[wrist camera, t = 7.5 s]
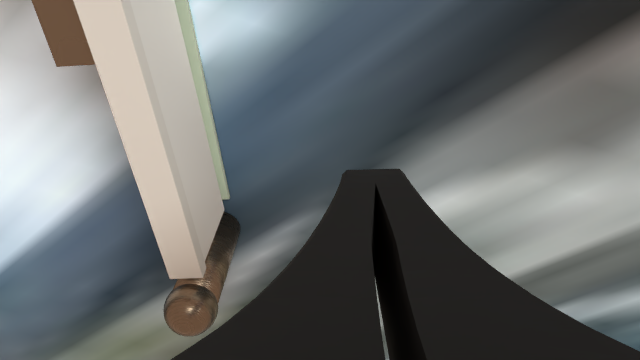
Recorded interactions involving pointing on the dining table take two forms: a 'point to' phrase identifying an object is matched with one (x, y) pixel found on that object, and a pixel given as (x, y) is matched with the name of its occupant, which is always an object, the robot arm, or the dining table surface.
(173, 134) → the beige flat panel
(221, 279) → the hinge post
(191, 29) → the sill strip
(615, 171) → the dining table surface
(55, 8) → the post
